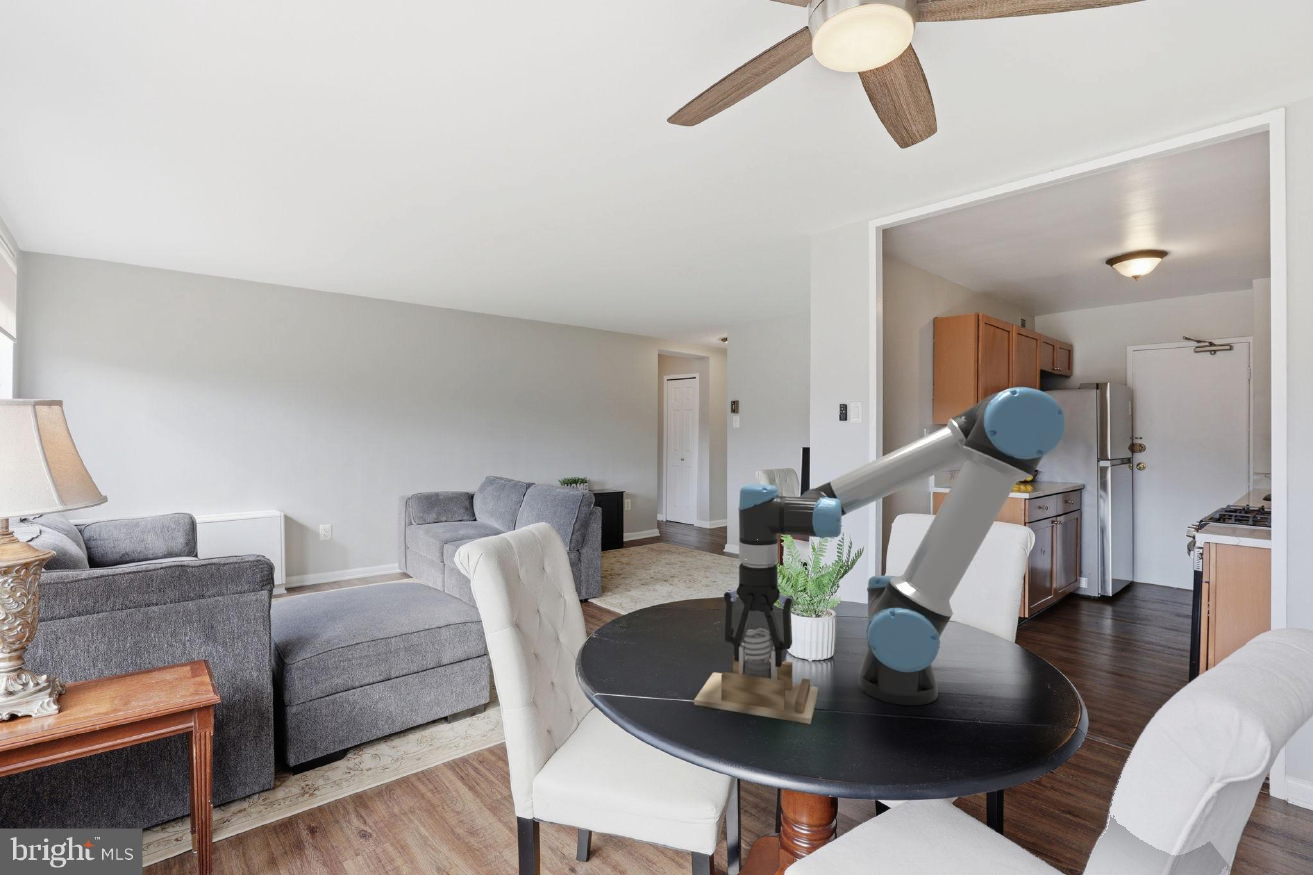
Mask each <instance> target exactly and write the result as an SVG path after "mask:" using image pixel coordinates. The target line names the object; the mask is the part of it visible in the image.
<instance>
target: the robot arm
mask: <svg viewBox="0 0 1313 875" xmlns="http://www.w3.org/2000/svg"><path fill="white" fill-rule="evenodd" d="M946 424H947V425H946V426H944V427H942V428H940V429H938V430H936V431H934V432H932V433H929V434H928V435H925V436H923V437H921V438H919V439H917V440H915V441H912V442H911V443H909V444H905V445H904V446H902V447H900V448H898V449H896V450H893V451H892V452H889V453H887V454H885V455H883V456H881V457H878V458H877V459H875V460H872V461H870V462H868V463H866V464H864V465H861V466H859V467H858V468H856V469H853V470H851V471H849V472H847V473H845V474H843V475H840V476H839V477H837V478H835V479H832V480H830V481H828V482H826V483H824V484H822V485H819V486H816V487H813V488H810V489H808V490H806V491H804V492H803V494H802V495H800V496H784V495H779V494H780V493H779V492H778V488H777V486H775V485H772V484H760V483H759V484H757V483H756V484H747V485H743V486H742V487H741V488H740V490H739V502H738V503H739V505H738V506H739V507H738V510H737V511H738V525H739V526H738V527H739V528H738V530H739V532H738V533H739V535H738V538H739V539H738V541H739V542H738V561H739V562H740V564H739V566H738V585H737V586H738V587H737V588H736V589H733V590H731V589H727V591H725V593H724V594H723V598H724V602H725V607H726V608H725V624H724V625H725V626H724V641H725V642H726V643H731V644H732V645H733V656H734V660H735V661H737V662H739V674H742V675H745V667H744V665H745V661H746V656H747V653H746V652H745V651H744V648H745V646H744V642H743V639H744V637H745V636H744V634H745V632H746V630H747V629H746V628H747V625H748V622H749V619H750V616H751V613H752V612H756V611H758V612H759V613H760V612H761V613H764V614H763V615H764V617H765V619H766V622H767V625H768V631H769V632H770V633H771V638H772V645H773V647H772V651H771V655H770V659H771V679H776V680H777V667H781V665H782V662H783V658H784V657H783V655H784V653H783V651H784V650H790V648H791V647H792V645H793V629H792V625H793V624H792V609H791V608H792V604H793V602H794V597H793V596H792V595H785V594H783V593H781V591H780V589H779V587H778V579H779V578H778V565H777V563H778V561H779V558H778V556H779V554H778V550H779V549H778V547H779V545H778V541H779V539H778V536H779V535H781V536H796V537H797V536H798V537H809V538H810V537H813V538H814V537H815V538H820V539H824V538H838V537H840V535H841V532H842V517H843V516H846V515H847V514H850V513H852V512H854V511H856V510H858V509H860V508H863V507H865V506H867V505H869V504H872V503H874V502H877V501H878V500H881V499H883V498H885V497H887V496H889V495H892V494H894V493H896V492H899V491H901V490H903V489H905V488H908V487H910V486H912V485H914V484H917V483H919V482H921V481H924V480H926V479H928V478H930V477H931V478H932V476H935V475H937V474H939V473H941V472H944V471H946V470H949V469H950V468H953V467H955V466H958V465H960V464H961V463H963V465H962V466H961V469H960V471H959V472H958V475H957V476H956V478H955V479H954V481H953V483H952V485H951V487H950V489H949V490H948V492H947V494H946V495H945V497H944V500H942V503H941V505H940V507H939V509H938V511H937V513H936V514H935V516H934V517H933V520H932V522H931V524H930V525H929V527H928V529H927V530H926V533H924V534H925V535H924V536H923V538H922V540H921V541H920V543H919V545H918V547H917V549H916V550H915V553H914V554H913V557H912V558H911V559H910V562H909V563H908V565H907V567H906V569H905V570H904V572H903V574H902V575H899V576H898V575H874V576H871V577H870V578H869V579H868V583H867V588H866V591H867V626H866V638H867V646H866V652H865V655H864V657H863V660H862V663H861V665H860V668H859V670H858V671H859V672H858V683H857V684H858V688H860V690H861V691H862V692H864V694H866V695H867V696H870V697H872V698H874V699H877V700H879V701H882V702H885V703H890V704H894V705H901V706H922V705H927V704H931V703H933V702H935V701H936V700H937V699H938V697H939V695H938V694H939V692H938V690H939V687H938V686H939V685H938V682H937V677H936V675H935V672H934V668H933V666H932V663H933V662H934V661H935V660H936V658H937V656H938V654H939V650H940V648H941V647H940V644H941V640H940V638H941V635H943V632H944V631H945V629H946V627H947V625H948V623H949V621H950V620H951V618H952V617H953V615H954V612H953V609H952V607H951V604H950V600H951V598H952V596H953V595H954V593H955V592H956V589H957V588H958V586H959V584H960V582H961V581H962V579H963V577H964V576H965V574H966V572H967V570H968V569H969V566H970V565H971V563H972V562H973V559H974V558H975V556H976V555H977V553H978V551H979V549H980V547H981V546H982V544H983V542H984V540H985V538H986V537H987V535H988V534H989V532H990V529H991V528H992V526H993V525H994V522H995V521H996V519H997V517H998V516H999V514H1000V512H1001V510H1002V509H1003V508H1004V507H1003V506H1004V505H1005V503H1006V502H1007V501H1008V498H1009V497H1010V495H1011V494H1012V491H1013V489H1014V487H1015V486H1016V484H1017V483H1018V482H1020V481H1024V480H1027V479H1030V478H1032V477H1033V475H1034V473H1035V471H1036V470H1037V468H1038V467H1039V464H1040V463H1041V461H1042V459H1043V457H1044V456H1046V455H1048V454H1049V453H1050V452H1052V451H1053V450H1054V449H1056V448H1057V446H1058V445H1059V443H1060V442H1061V440H1062V438H1063V436H1064V434H1065V431H1066V417H1065V415H1064V412H1063V409H1062V407H1061V406H1060V404H1059V403H1058V401H1056V400H1055V399H1054V397H1052V395H1049V393H1046V392H1044V391H1042V390H1039V389H1036V388H1030V387H1028V386H1026V387H1025V386H1017V387H1016V386H1014V387H1010V388H1007V389H1005V390H1002V391H998V392H994V393H992V394H990V395H988V396H986V397H985V398H984V399H982V400H980V401H979V402H977V403H976V404H974V405H973V406H971V407H970V408H968V409H967V410H964V411H963V412H961V413H959V414H958V415H956V416H952V417H951V418H949V420H948V423H946ZM757 539H758V540H757ZM745 559H747V560H745ZM738 598H739V599H740V601H741V602H742V604H743V610H742V612H741V617H740V620H739V623H738V626H737V630H736V634H735V633H734V632H735V631H734V630H735V629H734V628H735V610H736V609H735V607H736V601H737V599H738ZM778 600H779V601H780V604H779V605H780V606H781V607H782V624H783V625H782V628H783V639H782V635H781V632H780V628H779V626H778V625H779V624H778V622H777V619H776V615H775V608H774V604H775V603H777V601H778Z"/></svg>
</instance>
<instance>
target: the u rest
mask: <svg viewBox="0 0 1313 875" xmlns="http://www.w3.org/2000/svg"><path fill="white" fill-rule="evenodd" d="M746 660H747V658H746ZM769 661H770V662H771V658H769ZM818 696H819V687H818V686H811V679H810V678H802V679H801V681H800V684H797V683H793V661H792V662H791V661H785V660H784V661H783V662H782V665H781V667H777V680H776V679H771V678H763V677H756V676H749V675H742V674H739V662H737V661H735V660H734V655H733V656H732V672H728V671H727V672H726V671H723V672H721V673H720V672H712V674H711V675H709V678H708V679H707V680H706V682H705V683H704V685H703V686H702V688H700V691H699V692H698V693H697V695H696V697H695V698H694V699H693V701H694V702H693V704H694V706H700V707H706V708H710V709H711V708H712V709H719V710H723V711H730V712H737V713H741V714H747V715H752V716H761V717H766V718H772V719H773V718H774V719H777V720H778V719H779V720H784V721H785V720H786V721H788V722H789V721H791V722H795V723H796V722H798V723H803V724H807V725H810V724H812V719H813V715H814V712H815V708H816V703H817V700H818Z"/></svg>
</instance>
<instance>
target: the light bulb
mask: <svg viewBox="0 0 1313 875" xmlns="http://www.w3.org/2000/svg"><path fill="white" fill-rule="evenodd" d="M744 634H745V636H743V639H744V642H743V643H744V646H745V648H744V651H745V652H746V658H747V660H746V661H745V665H744V667H745V675H749V676H756V677H763V678H771V662H770V661H769V659H771V651H772V649H773V647H774V644H773V640H772V637H771V633H770V630H767V629H765V628H762V627H758V628H757V629H746V630H745V632H744Z"/></svg>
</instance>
